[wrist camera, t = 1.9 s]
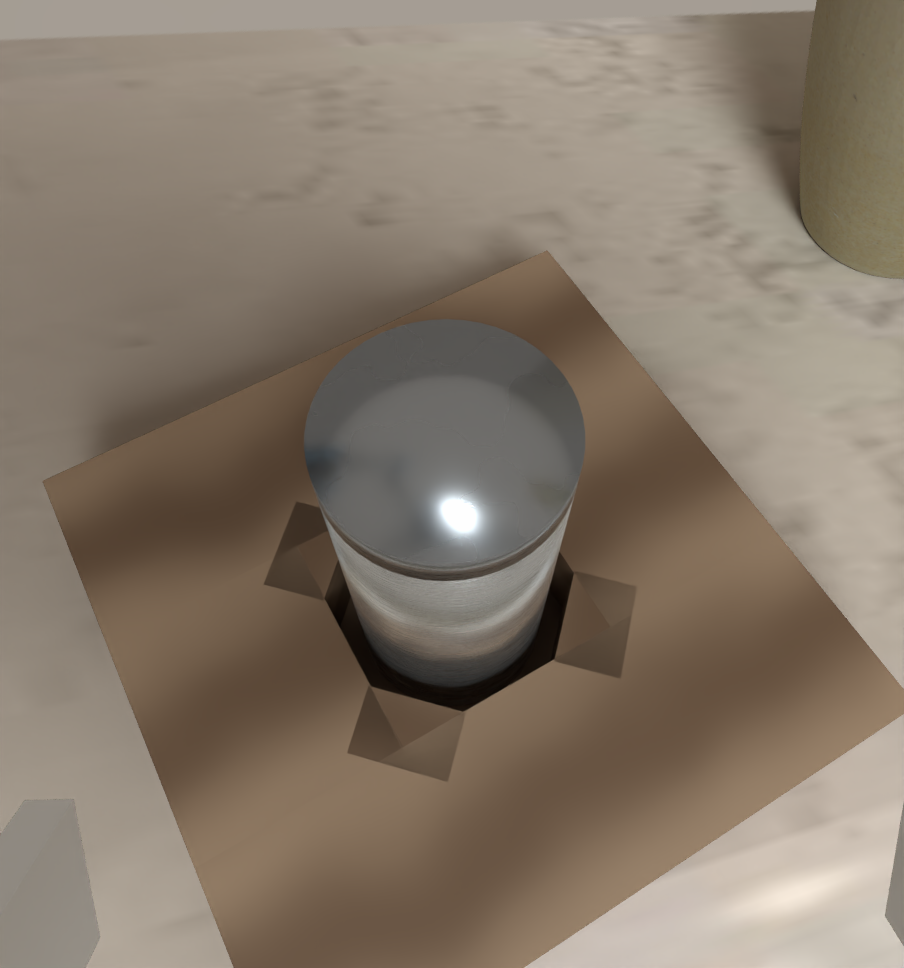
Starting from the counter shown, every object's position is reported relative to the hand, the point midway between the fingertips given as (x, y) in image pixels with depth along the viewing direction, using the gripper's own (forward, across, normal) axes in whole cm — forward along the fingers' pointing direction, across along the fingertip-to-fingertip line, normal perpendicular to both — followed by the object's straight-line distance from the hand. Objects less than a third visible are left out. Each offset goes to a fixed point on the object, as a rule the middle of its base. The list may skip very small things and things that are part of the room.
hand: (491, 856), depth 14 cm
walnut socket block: (+16, -1, -4) cm, 17 cm away
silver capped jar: (+16, -1, -4) cm, 16 cm away
